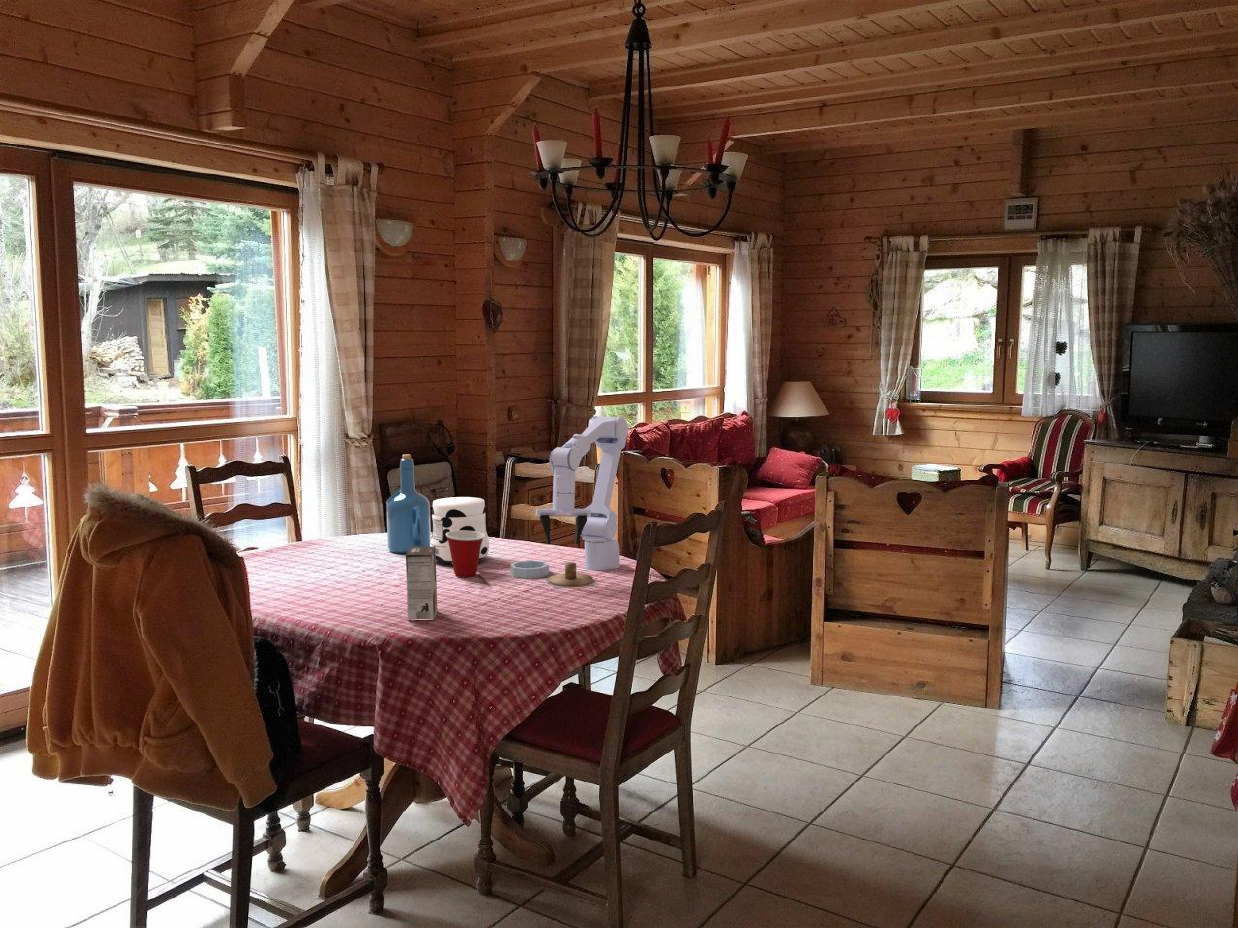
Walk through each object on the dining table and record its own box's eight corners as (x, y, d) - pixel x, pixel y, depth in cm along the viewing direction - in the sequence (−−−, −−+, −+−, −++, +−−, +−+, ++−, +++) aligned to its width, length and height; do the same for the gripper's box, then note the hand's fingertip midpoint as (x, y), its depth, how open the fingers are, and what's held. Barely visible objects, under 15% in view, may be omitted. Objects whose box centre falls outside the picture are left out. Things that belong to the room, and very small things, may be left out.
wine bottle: (437, 546, 324) (435, 452, 320) (420, 555, 311) (417, 457, 307) (398, 544, 327) (394, 451, 323) (379, 553, 314) (375, 456, 310)
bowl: (542, 571, 289) (542, 559, 288) (552, 579, 280) (552, 566, 279) (507, 574, 286) (507, 562, 285) (516, 582, 276) (516, 570, 276)
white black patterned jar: (496, 555, 310) (495, 497, 308) (479, 568, 294) (477, 506, 291) (442, 553, 314) (440, 495, 311) (421, 566, 297) (420, 505, 294)
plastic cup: (478, 580, 279) (477, 537, 277) (440, 579, 281) (439, 536, 279) (491, 571, 289) (490, 530, 288) (455, 570, 292) (453, 528, 290)
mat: (585, 577, 281) (585, 574, 281) (599, 587, 270) (599, 584, 270) (543, 581, 277) (543, 578, 277) (555, 592, 266) (555, 588, 266)
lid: (584, 574, 281) (584, 557, 280) (598, 584, 270) (598, 566, 269) (544, 578, 277) (543, 560, 276) (556, 588, 266) (555, 570, 266)
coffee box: (411, 611, 249) (409, 546, 247) (438, 610, 249) (436, 545, 247) (407, 621, 240) (404, 554, 238) (434, 620, 240) (432, 553, 238)
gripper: (538, 493, 265) (537, 545, 266) (593, 494, 268) (592, 545, 269) (535, 491, 272) (534, 542, 273) (589, 492, 275) (587, 542, 276)
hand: (562, 543), depth 271 cm, fingers open, 7 cm apart
